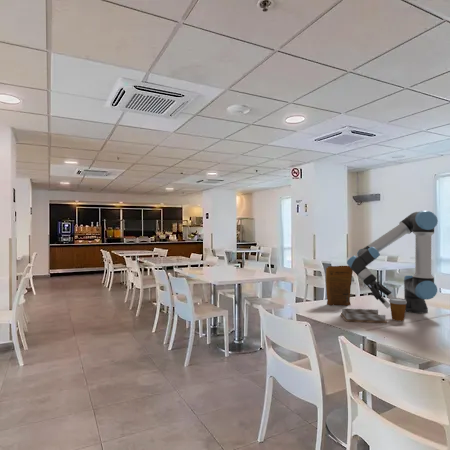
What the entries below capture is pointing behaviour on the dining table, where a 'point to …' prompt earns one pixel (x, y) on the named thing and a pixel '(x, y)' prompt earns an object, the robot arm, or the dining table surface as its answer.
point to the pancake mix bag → (338, 285)
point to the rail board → (362, 315)
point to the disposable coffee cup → (397, 308)
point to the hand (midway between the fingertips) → (393, 305)
